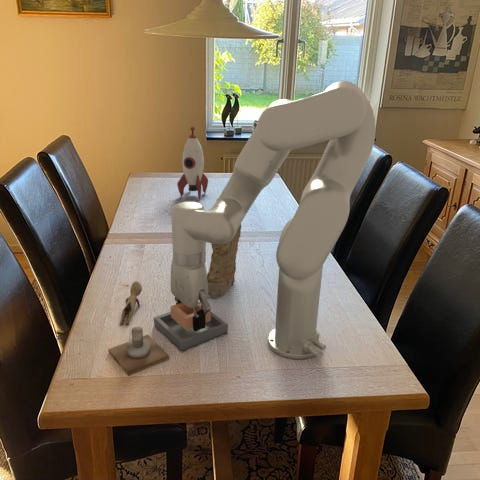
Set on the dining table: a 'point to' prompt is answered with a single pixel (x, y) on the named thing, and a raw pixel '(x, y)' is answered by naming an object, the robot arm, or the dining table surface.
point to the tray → (189, 331)
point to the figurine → (131, 302)
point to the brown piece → (138, 353)
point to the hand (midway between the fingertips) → (190, 321)
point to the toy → (193, 167)
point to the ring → (182, 318)
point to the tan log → (222, 266)
